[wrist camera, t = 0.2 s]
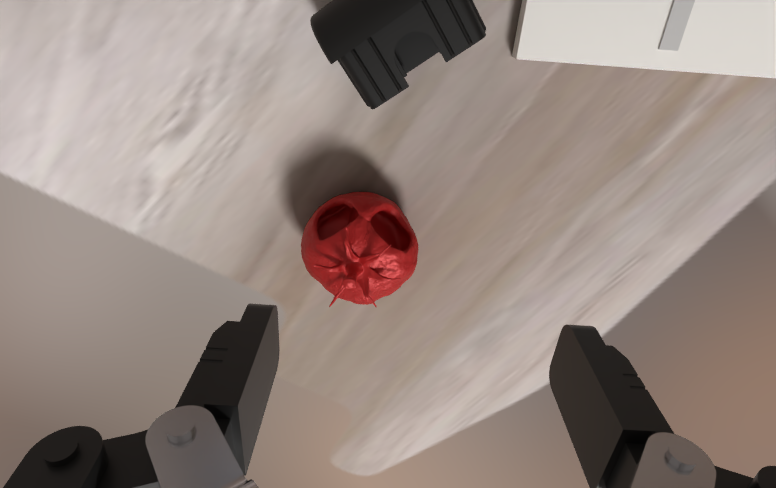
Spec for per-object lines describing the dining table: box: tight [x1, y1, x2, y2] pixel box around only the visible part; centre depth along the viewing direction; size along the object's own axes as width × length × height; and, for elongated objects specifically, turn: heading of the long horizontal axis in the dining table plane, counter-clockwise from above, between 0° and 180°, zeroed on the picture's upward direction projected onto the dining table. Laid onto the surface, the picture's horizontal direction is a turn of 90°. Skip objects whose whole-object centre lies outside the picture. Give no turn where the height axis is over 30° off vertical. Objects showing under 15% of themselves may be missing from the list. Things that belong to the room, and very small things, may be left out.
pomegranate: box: [301, 192, 418, 307], centre depth 40 cm, size 10×10×9 cm
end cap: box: [310, 0, 486, 109], centre depth 33 cm, size 10×7×7 cm
